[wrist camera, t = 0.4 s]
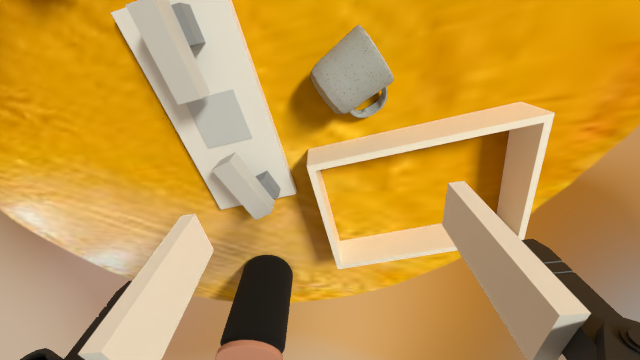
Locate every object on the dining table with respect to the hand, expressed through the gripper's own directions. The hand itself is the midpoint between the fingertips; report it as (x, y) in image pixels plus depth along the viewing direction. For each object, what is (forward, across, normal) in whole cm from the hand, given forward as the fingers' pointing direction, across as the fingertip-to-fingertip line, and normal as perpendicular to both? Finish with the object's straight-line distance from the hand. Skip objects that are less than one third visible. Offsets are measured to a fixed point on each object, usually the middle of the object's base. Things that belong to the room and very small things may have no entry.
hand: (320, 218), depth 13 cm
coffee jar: (+26, -16, -34) cm, 47 cm away
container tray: (+26, +14, -17) cm, 34 cm away
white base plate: (+26, -15, 0) cm, 30 cm away
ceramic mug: (+27, +5, +2) cm, 27 cm away
